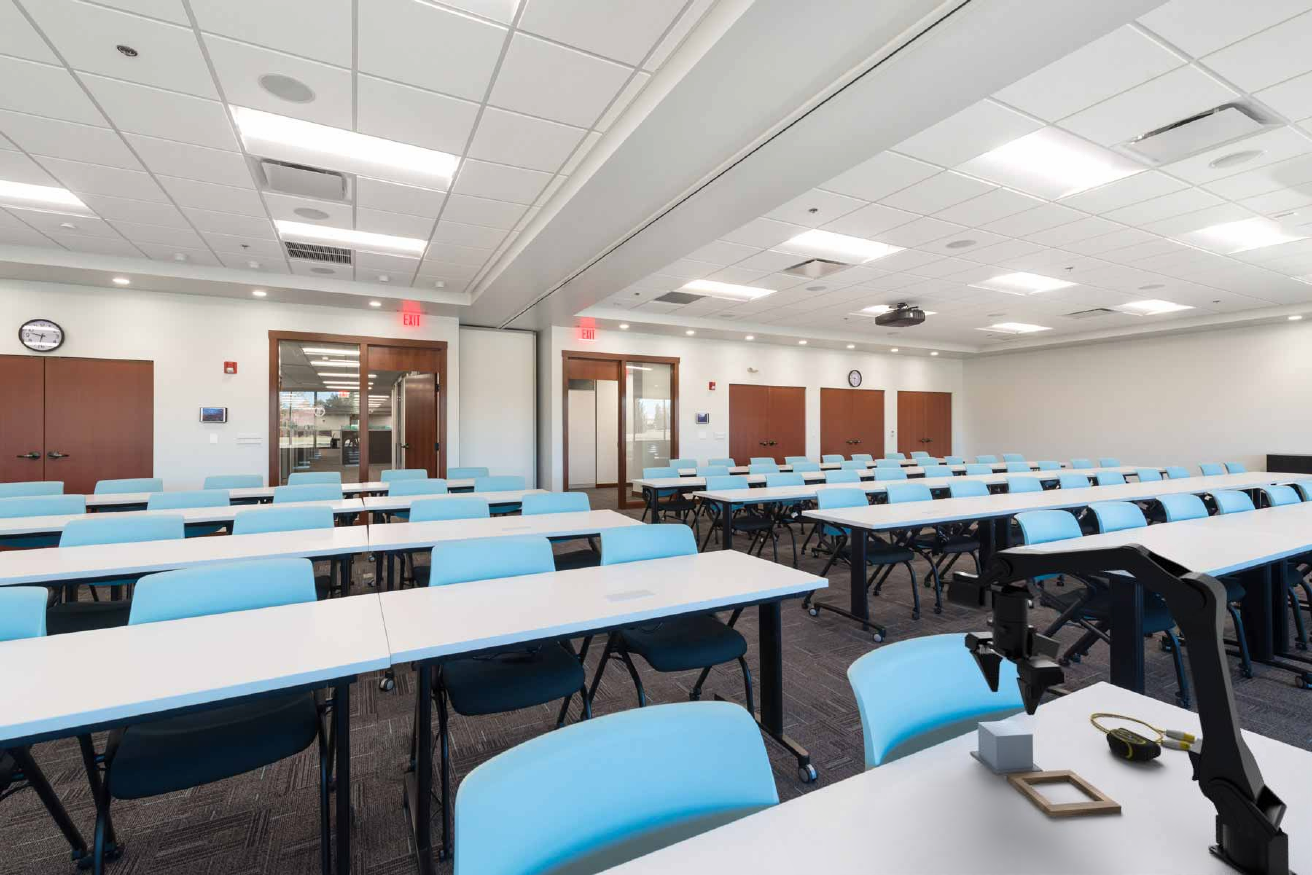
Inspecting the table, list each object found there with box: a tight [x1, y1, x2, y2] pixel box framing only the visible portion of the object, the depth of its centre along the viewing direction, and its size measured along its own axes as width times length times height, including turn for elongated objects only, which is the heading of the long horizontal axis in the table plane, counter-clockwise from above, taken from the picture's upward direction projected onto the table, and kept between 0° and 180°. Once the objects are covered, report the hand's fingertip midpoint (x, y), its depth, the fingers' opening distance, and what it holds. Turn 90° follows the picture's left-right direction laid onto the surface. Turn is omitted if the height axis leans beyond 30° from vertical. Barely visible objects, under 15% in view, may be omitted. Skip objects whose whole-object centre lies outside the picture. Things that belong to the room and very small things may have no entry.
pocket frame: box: [1006, 769, 1122, 818], centre depth 94 cm, size 10×12×1 cm
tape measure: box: [1105, 726, 1162, 763], centre depth 106 cm, size 7×7×4 cm
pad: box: [969, 750, 1044, 776], centre depth 104 cm, size 7×9×1 cm
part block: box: [977, 720, 1034, 769], centre depth 104 cm, size 5×7×6 cm
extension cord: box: [1090, 712, 1196, 751], centre depth 114 cm, size 12×16×2 cm
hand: (1011, 702), depth 103 cm, fingers open, 9 cm apart
